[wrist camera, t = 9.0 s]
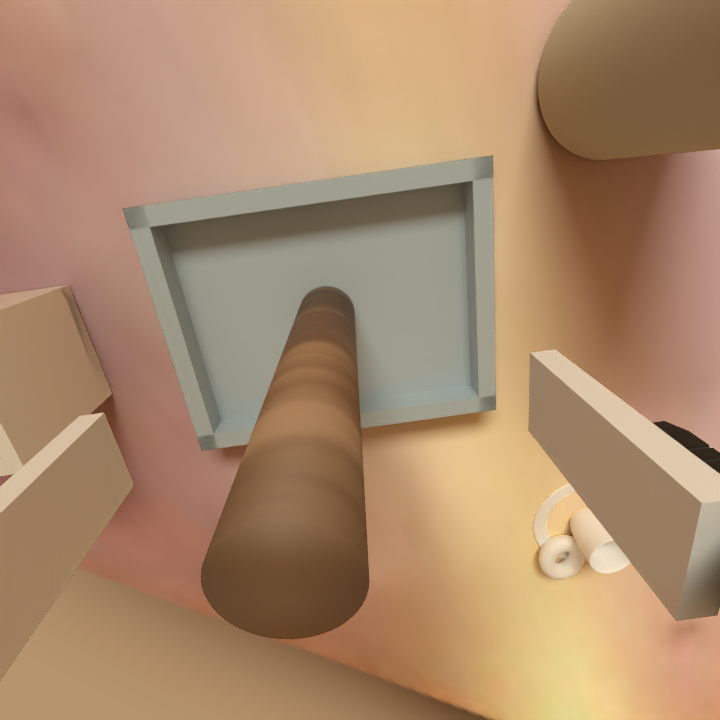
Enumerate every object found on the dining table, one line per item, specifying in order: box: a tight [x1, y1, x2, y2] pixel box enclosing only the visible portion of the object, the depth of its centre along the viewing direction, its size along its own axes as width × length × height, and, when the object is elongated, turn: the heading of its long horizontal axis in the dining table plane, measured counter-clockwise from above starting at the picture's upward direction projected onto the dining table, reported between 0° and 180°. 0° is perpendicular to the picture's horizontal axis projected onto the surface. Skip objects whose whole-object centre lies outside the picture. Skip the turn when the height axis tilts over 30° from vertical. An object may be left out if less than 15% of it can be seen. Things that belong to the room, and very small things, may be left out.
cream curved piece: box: [533, 483, 630, 579], centre depth 31 cm, size 9×8×4 cm
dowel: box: [201, 286, 369, 639], centre depth 16 cm, size 3×3×18 cm
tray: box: [123, 155, 496, 451], centre depth 24 cm, size 14×18×2 cm
